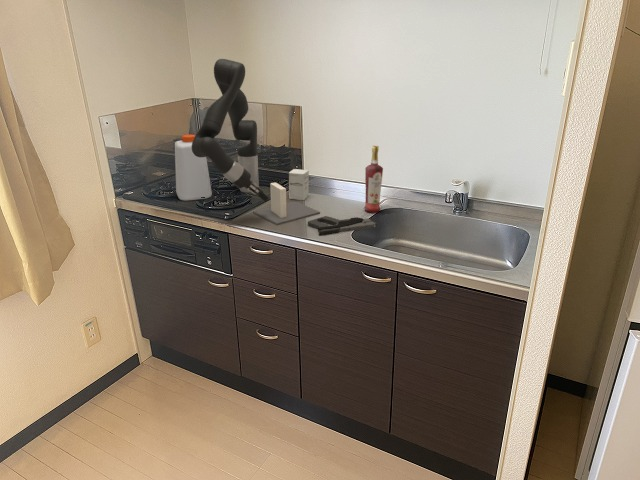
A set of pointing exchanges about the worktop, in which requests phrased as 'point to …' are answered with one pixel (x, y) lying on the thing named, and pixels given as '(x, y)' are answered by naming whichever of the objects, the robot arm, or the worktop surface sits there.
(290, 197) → the supplement box
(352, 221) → the pistol
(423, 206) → the worktop surface
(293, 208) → the mat
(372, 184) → the liquor
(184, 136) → the plastic bottle
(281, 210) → the tile
